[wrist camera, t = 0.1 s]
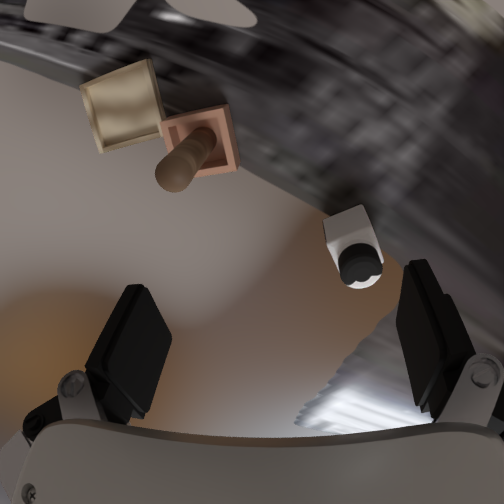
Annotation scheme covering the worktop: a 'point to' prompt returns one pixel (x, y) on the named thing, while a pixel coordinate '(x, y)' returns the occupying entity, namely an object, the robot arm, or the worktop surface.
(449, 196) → the worktop surface
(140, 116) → the tray
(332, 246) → the medicine bottle
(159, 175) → the dowel
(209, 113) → the pink square box
